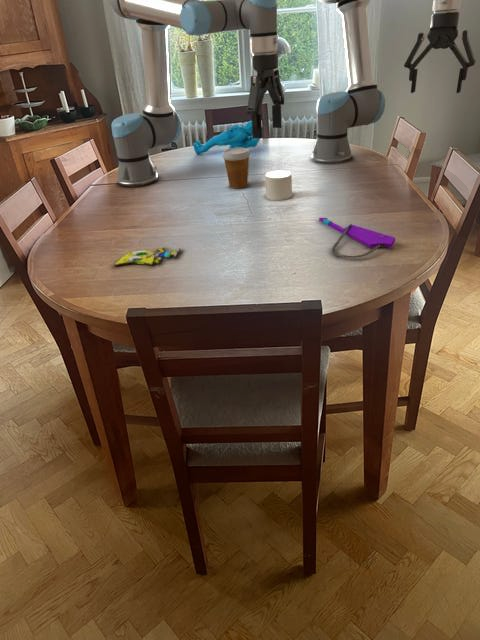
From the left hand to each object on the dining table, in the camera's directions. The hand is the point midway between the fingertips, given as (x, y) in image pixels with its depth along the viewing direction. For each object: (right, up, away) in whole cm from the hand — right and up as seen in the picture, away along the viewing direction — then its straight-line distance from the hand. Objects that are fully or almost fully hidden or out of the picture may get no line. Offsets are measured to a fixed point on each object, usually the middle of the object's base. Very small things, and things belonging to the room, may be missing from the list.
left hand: (267, 132), depth 147 cm
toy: (-14, +16, +64) cm, 68 cm away
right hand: (+53, +14, +4) cm, 55 cm away
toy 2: (-32, -41, -22) cm, 57 cm away
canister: (+4, -16, +11) cm, 20 cm away
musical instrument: (+19, -37, -23) cm, 47 cm away
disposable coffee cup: (-9, -10, +23) cm, 27 cm away
